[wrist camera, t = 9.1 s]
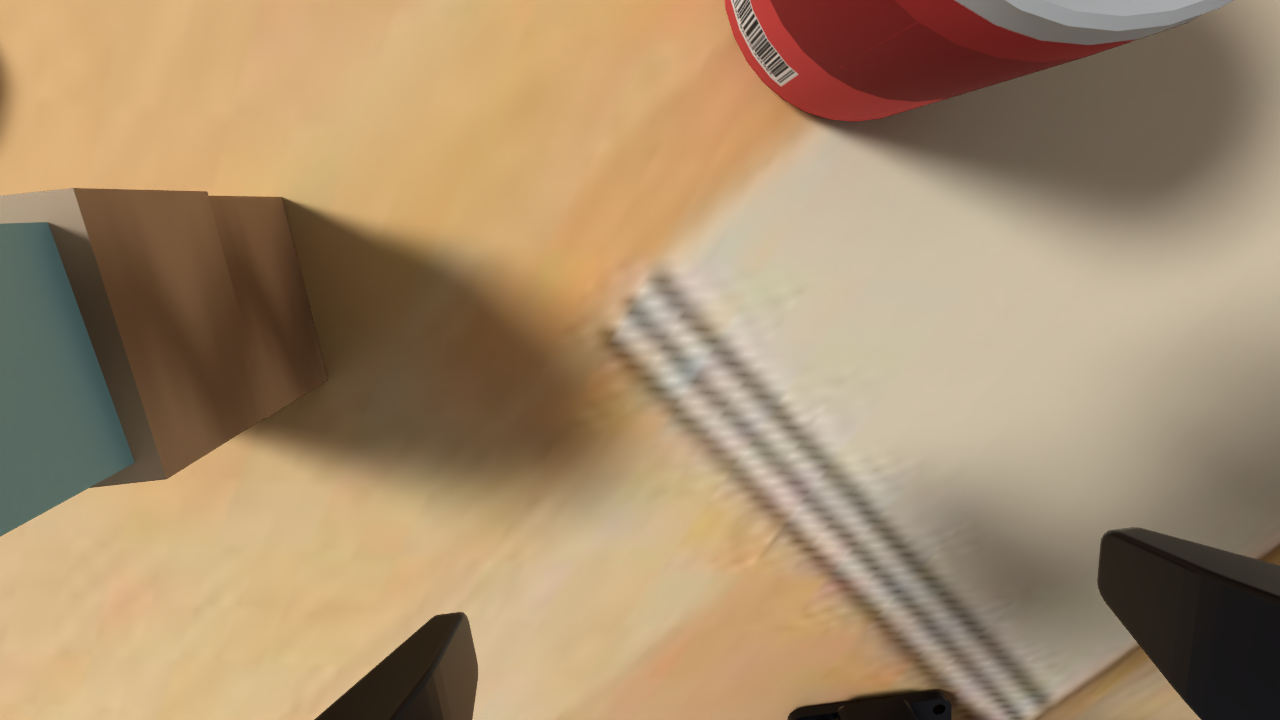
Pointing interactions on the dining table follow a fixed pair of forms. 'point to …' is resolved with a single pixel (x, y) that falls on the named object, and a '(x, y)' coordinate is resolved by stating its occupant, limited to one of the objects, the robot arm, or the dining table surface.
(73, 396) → the teal block
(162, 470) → the tower top
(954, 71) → the canned food
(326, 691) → the dining table surface
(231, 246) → the tower base
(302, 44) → the dining table surface
